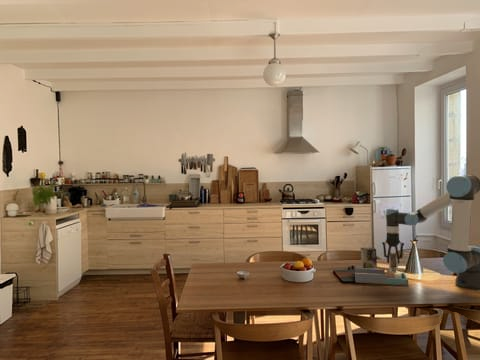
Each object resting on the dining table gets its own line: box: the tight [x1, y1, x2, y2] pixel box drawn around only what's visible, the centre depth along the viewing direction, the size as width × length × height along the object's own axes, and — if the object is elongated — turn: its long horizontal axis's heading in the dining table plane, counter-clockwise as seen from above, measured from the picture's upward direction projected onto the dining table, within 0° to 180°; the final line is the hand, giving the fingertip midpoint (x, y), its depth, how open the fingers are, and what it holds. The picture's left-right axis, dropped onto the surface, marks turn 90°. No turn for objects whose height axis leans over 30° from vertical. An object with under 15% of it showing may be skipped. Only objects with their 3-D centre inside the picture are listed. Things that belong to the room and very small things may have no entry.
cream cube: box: [394, 272, 402, 279], centre depth 222 cm, size 4×4×4 cm
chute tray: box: [385, 271, 409, 286], centre depth 222 cm, size 12×14×4 cm
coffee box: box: [360, 246, 378, 269], centre depth 245 cm, size 9×6×16 cm
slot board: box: [354, 267, 388, 285], centre depth 227 cm, size 18×14×6 cm
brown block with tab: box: [389, 251, 397, 273], centre depth 236 cm, size 4×8×12 cm, turn 162°
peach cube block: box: [385, 268, 395, 278], centre depth 223 cm, size 4×4×4 cm
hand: (393, 268), depth 236 cm, fingers closed on brown block with tab, 3 cm apart
